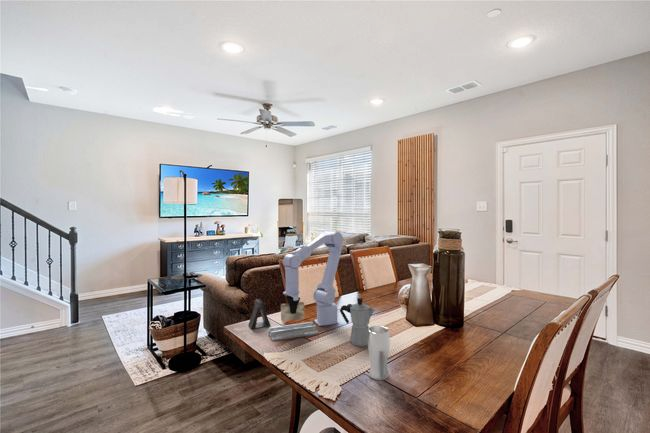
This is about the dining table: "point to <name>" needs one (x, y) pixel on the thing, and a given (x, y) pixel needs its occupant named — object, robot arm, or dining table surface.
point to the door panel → (287, 314)
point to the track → (292, 331)
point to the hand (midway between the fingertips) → (292, 312)
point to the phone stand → (254, 316)
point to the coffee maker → (358, 322)
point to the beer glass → (378, 351)
